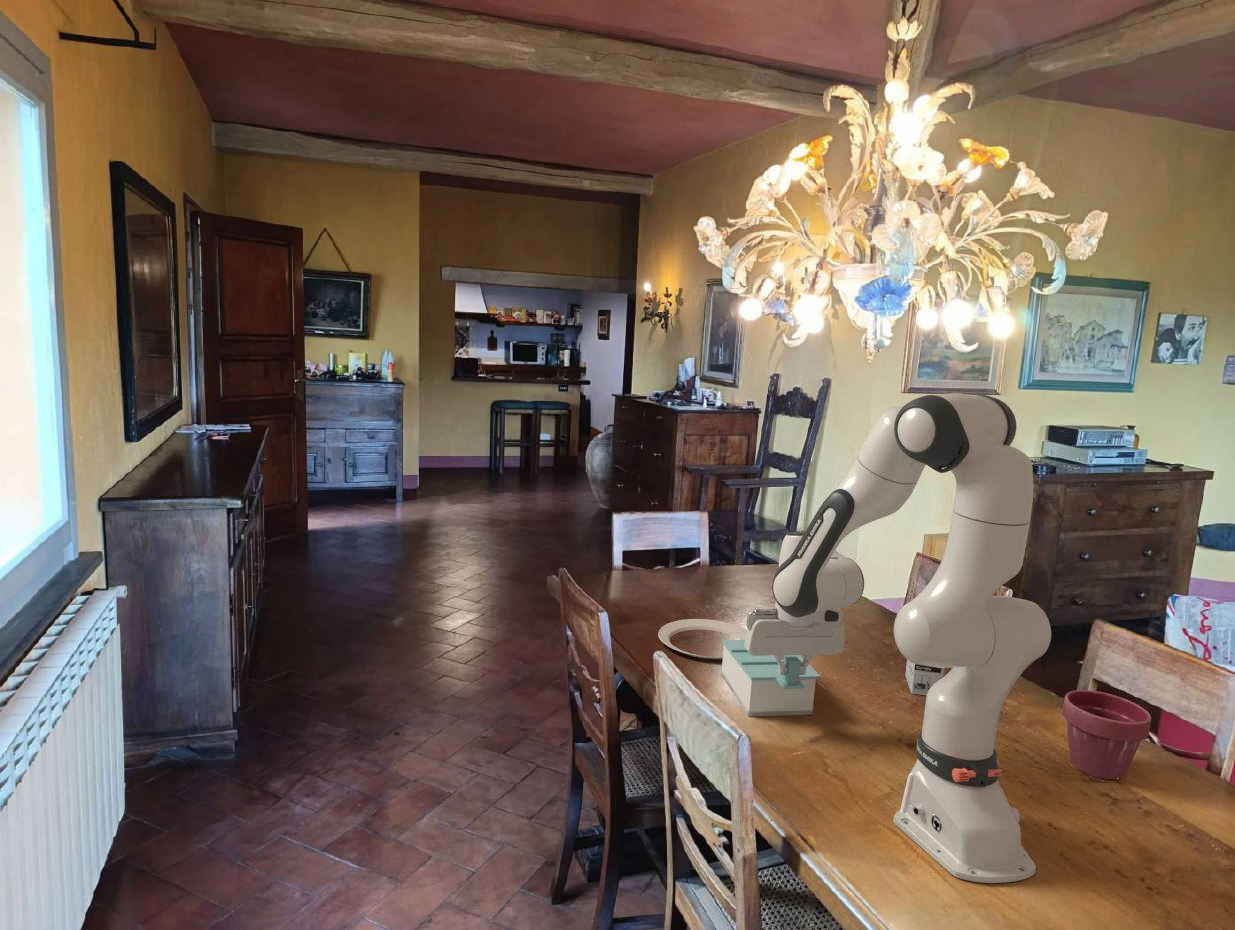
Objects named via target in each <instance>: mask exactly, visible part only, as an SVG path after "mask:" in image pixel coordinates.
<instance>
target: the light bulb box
mask: <svg viewBox="0 0 1235 930" xmlns="http://www.w3.org/2000/svg"><path fill="white" fill-rule="evenodd" d="M945 669H946V668H937V667H930V666H924V665H919V664H914V663H911V662H910V661H908V660H907V659H906V667H905V674H904V677H905V680H906V682H907V685H908V688H909V691H910V693H911V694H912V695H918V696H919V695H920V696H925V697H926V696H927V693H928V691H929V689H930V688H931V687H932V685H933V684H934V683H936V682H937V681H938V680H940V679H941V678H943V677H944V676H945Z"/></svg>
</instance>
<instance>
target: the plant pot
mask: <svg viewBox="0 0 1235 930" xmlns="http://www.w3.org/2000/svg"><path fill="white" fill-rule="evenodd" d="M1151 715H1152V714H1150V712H1149V711H1148V710H1147V709H1145V708H1144V707H1142V706H1141V705H1139V704H1138V703H1135V702H1133V701H1131V700H1129V699H1126V698H1124V697H1122V696H1118V695H1114V694H1111V693H1107V692H1102V691H1097V690H1089V689H1078V690H1075V689H1074V690H1072V691H1069V692H1067V693H1066V694H1065V695H1064V700H1063V705H1062V716H1063V718H1064V719H1065V720H1066V726H1067V739H1068V749H1069V758H1070V763H1071V764H1072V765H1073V766H1074V767H1075V768H1076V769H1078V770H1079V769H1080V770H1079V771H1081V772H1082V771H1083V773H1084V772H1085V773H1084V774H1087V775H1089V774H1090V775H1089V776H1092V777H1094V778H1098V777H1100V778H1099V779H1102V778H1105V779H1104V780H1107V779H1117V778H1121V777H1123V776H1124V777H1125V774H1126V772H1127V771H1128V769H1129V767H1130V765H1131V762H1132V761H1133V758H1134V756H1135V755H1136V753H1137V750H1138V748H1139V746H1140V744H1141V742H1142V741H1143V740H1145V739H1147V738H1148V736H1149V733H1150V729H1151V723H1152V716H1151ZM1124 777H1123V778H1124ZM1121 779H1122V778H1121Z"/></svg>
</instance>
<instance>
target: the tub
mask: <svg viewBox="0 0 1235 930" xmlns="http://www.w3.org/2000/svg"><path fill="white" fill-rule="evenodd" d="M722 657H723V659H722V662H721V674H720V675H721V677H722V679H723V680H724V682H725V683H726V685H727V686H728V688H729V689H730V691H731V693H732V694H733V695H734V697H735V699H736V700H737V701H738V703H739V704H740V706H741V707H742V709H743V711H744V712H745V713H746V714H747V716H748V717H776V716H777V717H778V716H779V717H780V716H781V717H782V716H783V717H784V716H809V715H810V716H811V715H812V716H813V710H814V703H815V702H814V701H815V690H816V681H817V679H799V680H800V681H801V682H802V683H803V684H804V686H805V687H804V689H783V688H782V686H781V685H780V684H779V683H778V682H777V681H776V680H751V679H750V678H749V677H748V675H747V674H746V673H745V672H744V670H743V669H742V668H741V666H740V665H739V664H738V663H737V661H736V660H735V659H734V657H733V656H732V655H731V653H730V652H729V651H728V650H727V648H726V647H725V646H724V645H723V650H722Z"/></svg>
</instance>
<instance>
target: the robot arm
mask: <svg viewBox="0 0 1235 930" xmlns="http://www.w3.org/2000/svg"><path fill="white" fill-rule="evenodd" d="M1016 433H1017V420H1016V416H1015V414H1014V412H1013V410H1012V409H1011V408H1010V407H1009V405H1008V404H1006V402H1004V401H1003V400H1000V399H998V398H996V397H994V396H991V395H986V394H985V395H984V394H976V395H974V394H966V393H965V394H964V393H961V392H960V393H959V392H952V393H943V394H935V395H934V394H928V395H923V396H919V397H916V398H914V399H912V400H910V401H908V402H907V403H905V404H904V405H903V406H894V407H890V408H888V409H886V410H885V411H884V412H883V413H882V414H881V415H880V417H879V418H878V419H877V421H876V422H875V423H874V425H873V426H872V427H871V429H870V431H869V432H868V434H867V436H866V437H865V440H864V441H863V444H862V445H861V448H860V449H859V451H858V454H857V455H856V457H855V459H854V462H853V463H852V465H851V467H850V468H849V470H848V472H847V473H846V475H845V476H844V477H843V479H842V480H841V482H840V483H839V484H838V485H837V486H836V487H835V489H834V490H833V491H831V493H830V494H828V496H827V497H826V499H825V500H824V501H823V502H822V504H821V505H820V506H819V508H818V510H817V511H816V513H815V515H814V516H813V518H812V520H811V521H810V523H809V525H808V526H807V528H806V530H798V531H797V530H796V531H791V532H789V533H787V534H786V535H785V536H784V538H783V540H782V543H781V547H780V552H779V553H780V554H779V560H778V568H777V569H776V571H775V574H774V576H773V580H772V585H771V588H772V589H771V590H772V595H773V598H774V600H775V604H774V608H765V609H762V608H755V609H754V611H751V612H749V613H748V615H747V617H746V629H747V631H746V636H745V643H744V646H745V648H746V650H747V651H748V652H749V653H750V654H751V655H752V656H765V655H774V657H775V659H776V661H777V663H778V673H779V674H780V675H788V672H787V671H788V667H787V666H786V664H783V663H782V661H781V660H784V655H800V656H803V657H802V658H803V659H802V661H801V665H800V675H805V674H806V667H807V666H808V665H810V663H811V662H812V660H813V658H814V657H813V656H815V655H840V654H842V652H843V651H844V649H845V644H846V635H845V634H846V633H845V632H846V631H845V630H846V629H845V625H844V623H842V622H843V619H844V615H845V614H844V612H843V611H841V609H839V608H846V607H849V606H851V605H855V604H856V603H859V601H860V600H861V598H862V596H863V594H864V589H865V578H864V573H863V572H862V569H861V567H860V566H859V565H858V563H857V562H855V561H854V560H853V559H852V558H848V557H846V556H844V555H842V553H840V552H839V551H837V548H838V547H839V545H840V544H841V542H842V541H843V540H844V539H845V538H846V537H847V536H848V535H850V534H851V533H852V532H854V531H855V530H857V529H859V528H861V527H862V526H863V527H864V526H865V525H867V524H870V523H872V522H875V521H878V520H880V519H883V518H885V517H888V516H890V515H892V514H895V513H897V512H898V511H899V510H900V509H901V508H902V506H904V504H906V502H907V501H908V500H909V498H910V497H911V496H912V493H914V490H915V488H916V486H917V484H918V482H919V480H920V478H921V476H922V473H923V471H924V470H925V468H926V466H928V467H929V468H931V469H932V470H934V471H935V472H938V473H939V474H944V473H948V472H951V473H952V474H953V476H954V478H955V484H956V488H955V496H954V500H953V501H954V502H953V509H952V514H951V520H950V525H949V526H950V527H949V532H948V536H947V541H946V546H945V549H944V553H943V555H942V558H941V561H940V563H939V565H938V567H937V569H936V572H935V573H934V575H933V576H932V578H931V579H930V580H929V582H928V583H927V584H926V586H925V587H923V590H921V592H919V594H917V595H916V596H915V597H914V598H913V599H911V600H910V601H909V602H907V603H906V604H904V605H903V606H901V607H900V609H899V611H898V612H897V614H896V616H895V620H894V623H893V636H894V641H895V644H896V646H897V649H898V650H899V652H900V654H902V656H903V657H904V658H905V659H906V661H907V660H908V661H910V662H911V663H914V664H919V665H924V666H930V667H937V668H945V669H947V668H948V669H949V668H950V670H949V672H948V673H947V674H944V676H943V678H941V679H940V680H938V681H937V682H936V683H934V684H933V685H932V687H931V688H930V689H929V691H928V693H927V696H925V697H926V698H925V705H924V714H923V721H922V727H921V728H922V729H921V731H920V732H919V734H918V738H917V741H916V751H915V752H916V753H915V756H916V758H917V759H916V761H915V764H914V765H913V767H912V769H911V770H910V772H909V774H908V775H907V780H906V784H905V787H904V793H903V797H902V801H901V806H900V808H899V810H898V811H896V813H894V814H893V820H892V822H893V824H894V825H895V826H897V828H899V829H900V830H901V831H902V832H903V833H905V834H906V835H907V836H908V837H909V838H910V839H911V840H913V842H915V843H916V844H917V845H918V846H919V847H921V848H922V849H923V851H925V852H926V853H927V854H928V855H929V856H930V857H932V859H934V860H935V861H936V862H937V863H938V864H939V865H941V866H942V867H943V868H944V869H945V870H946V871H947V872H949V873H950V874H951V875H953V876H954V877H955V878H958V879H961V880H965V881H969V882H976V883H983V884H984V883H985V884H997V883H999V884H1000V883H1012V882H1017V881H1018V882H1019V881H1023V880H1026V879H1029V878H1031V877H1033V875H1035V874H1036V872H1037V868H1036V867H1037V866H1036V863H1035V862H1034V860H1033V859H1032V858H1031V857H1030V855H1029V854H1028V852H1027V851H1026V850H1025V848H1024V847H1023V846H1022V831H1021V830H1022V829H1021V826H1020V824H1019V823H1020V821H1021V816H1020V815H1021V814H1020V812H1019V809H1018V808H1017V807H1011V805H1010V803H1009V801H1008V798H1007V797H1006V794H1005V791H1004V789H1003V788H1002V787H1001V784H1000V782H999V777H1003V774H1001V773H1002V772H1003V771H1004V770H1003V769H1001V768H1000V769H999V767H998V764H999V762H998V761H999V760H998V758H997V751H996V749H995V743H996V738H997V731H998V726H999V723H1000V716H1001V712H1002V709H1003V707H1004V703H1005V701H1006V699H1007V697H1008V696H1009V693H1010V692H1011V690H1012V688H1013V687H1014V684H1015V683H1016V682H1017V680H1018V679H1019V678H1020V676H1022V674H1023V673H1024V671H1025V670H1026V669H1027V668H1028V667H1029V666H1030V665H1032V664H1033V662H1035V661H1036V660H1038V659H1039V658H1041V657H1042V656H1044V654H1046V652H1047V650H1048V649H1049V646H1050V644H1051V641H1052V640H1051V639H1052V629H1051V623H1050V620H1049V618H1048V616H1047V614H1046V613H1045V611H1044V610H1043V608H1041V607H1040V605H1039V604H1037V603H1036V602H1034V601H1030V600H1027V599H1022V598H1018V597H1013V596H1007V595H994V594H995V593H996V592H997V590H998V589H1000V588H1001V587H1002V586H1004V584H1006V583H1007V582H1009V581H1011V579H1013V578H1014V577H1016V575H1018V574H1019V572H1020V571H1021V569H1022V567H1023V564H1024V558H1025V554H1026V548H1027V541H1028V536H1029V530H1030V525H1031V520H1032V519H1031V517H1032V511H1033V500H1034V499H1033V498H1034V471H1033V469H1034V468H1033V464H1032V461H1031V459H1030V458H1029V456H1028V455H1027V454H1026V453H1025V452H1023V451H1022V450H1021V449H1018V448H1016V447H1014V446H1011V444H1012V443H1013V441H1014V439H1015V436H1016Z"/></svg>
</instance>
